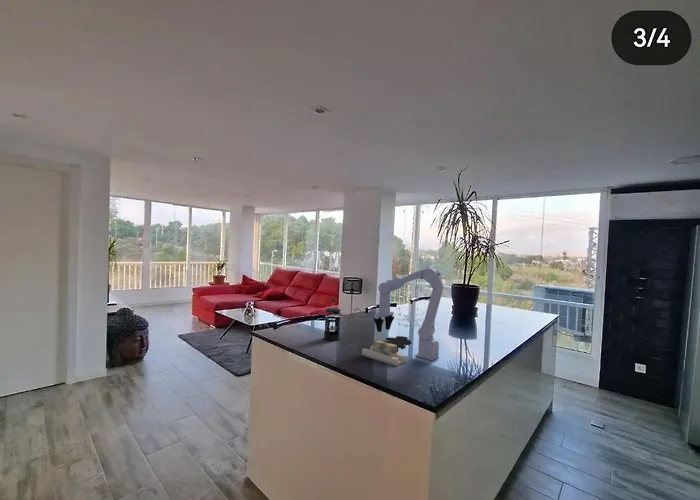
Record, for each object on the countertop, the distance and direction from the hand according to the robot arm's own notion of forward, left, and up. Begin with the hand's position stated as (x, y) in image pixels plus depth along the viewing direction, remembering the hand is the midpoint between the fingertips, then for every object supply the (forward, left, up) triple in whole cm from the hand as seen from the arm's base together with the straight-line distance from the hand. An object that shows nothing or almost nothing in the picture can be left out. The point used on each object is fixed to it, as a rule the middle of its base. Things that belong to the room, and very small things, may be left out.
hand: (383, 330), depth 173 cm
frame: (-11, +13, -8) cm, 19 cm away
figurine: (+1, -13, -10) cm, 16 cm away
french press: (+30, +8, -10) cm, 32 cm away
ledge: (-10, +13, -9) cm, 19 cm away
